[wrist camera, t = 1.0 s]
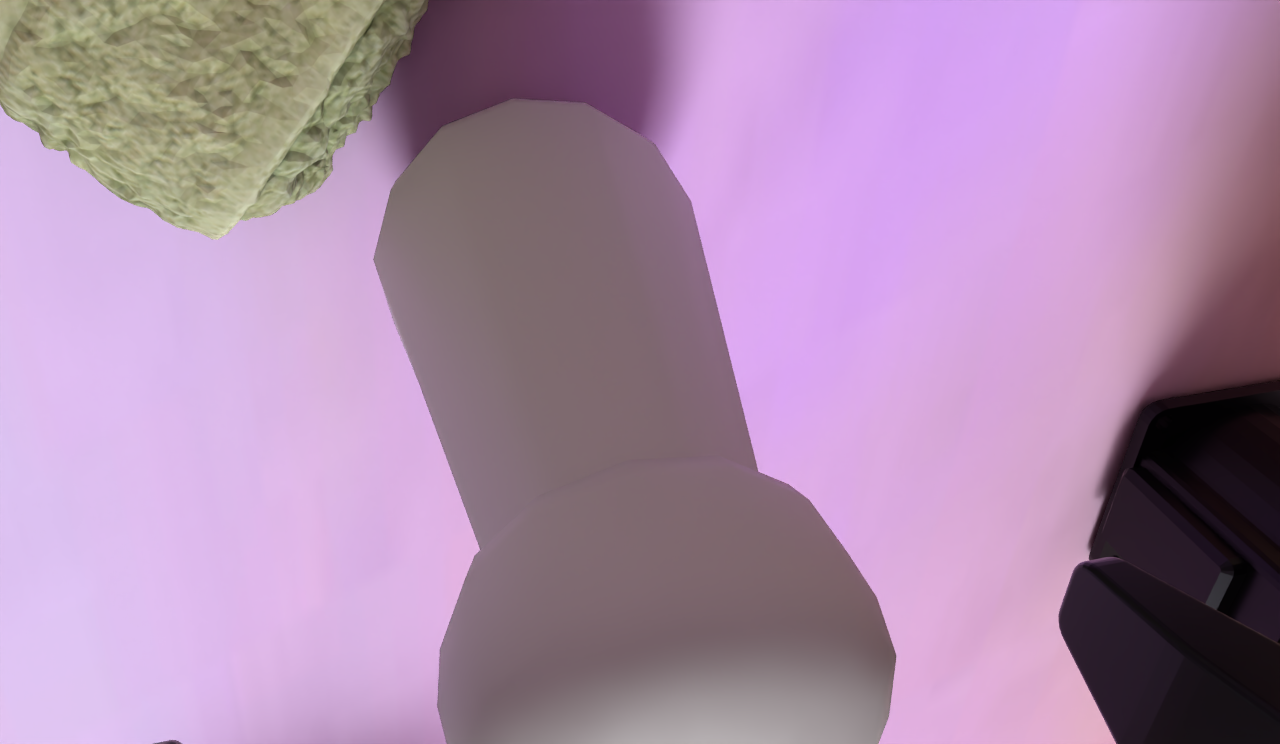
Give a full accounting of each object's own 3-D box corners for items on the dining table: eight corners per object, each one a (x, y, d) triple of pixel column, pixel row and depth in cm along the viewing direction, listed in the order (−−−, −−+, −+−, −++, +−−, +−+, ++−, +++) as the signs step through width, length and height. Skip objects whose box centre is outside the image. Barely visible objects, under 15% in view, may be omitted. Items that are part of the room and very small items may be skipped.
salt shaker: (454, 368, 20) (513, 1035, 9) (322, 136, 17) (180, 761, 6) (697, 269, 20) (1032, 824, 9) (613, 17, 17) (986, 433, 6)
